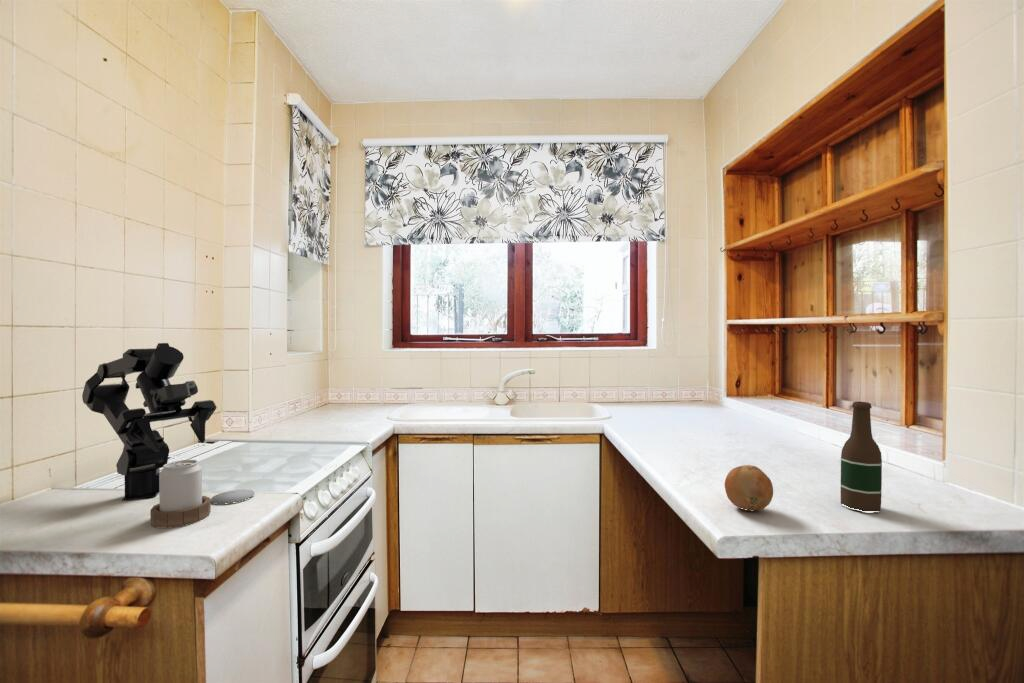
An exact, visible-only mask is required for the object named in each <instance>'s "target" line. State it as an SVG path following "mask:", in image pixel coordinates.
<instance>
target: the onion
mask: <svg viewBox="0 0 1024 683" xmlns="http://www.w3.org/2000/svg"><path fill="white" fill-rule="evenodd" d="M724 489H725V494H726V497H727V499H728V500H729V501H730V502H731V504H732V505H733V506H735V507H736V508H738V507H740V508H743V509H747V510H759V511H761V510H764V509H765V508H766V507H768V506H769V505H770V504H771V502H772V500H773V497H774V487H773V482H772V481H771V479H770V477H769V476H768V475H767V474H766V473H765V472H764V471H763V470H762V469H761V468H759V467H758V466H757V465H756V466H755V465H752V464H744V465H739V466H736V467H733V468H732V469H731V470H729V472H728V473H727V474H726V477H725V480H724ZM740 508H739V509H740Z"/></svg>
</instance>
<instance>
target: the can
mask: <svg viewBox="0 0 1024 683" xmlns="http://www.w3.org/2000/svg"><path fill="white" fill-rule="evenodd" d="M158 494H159V503H160V512H172V511H180V510H185V509H189V508H193V507H196V506H198V505H200V504H202V496H203V466H201V465H200V464H199V461H198V460H196V459H181V460H176V461H170V462H167V464H165V465H163V467H162V470H161V471H160V473H159V493H158Z"/></svg>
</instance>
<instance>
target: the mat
mask: <svg viewBox="0 0 1024 683" xmlns="http://www.w3.org/2000/svg"><path fill="white" fill-rule="evenodd" d="M253 495H254V496H255V491H254V490H252V489H233V490H228V491H224V492H220V493H217V494H215V495H213V496H212V497H211V498H210V503H211V502H212V503H211V504H213V503H217V504H225V503H233V502H239V501H242V500H245V499H248V498H250V497H252V496H253ZM254 496H253V497H254ZM253 497H252V498H253ZM248 500H249V499H248ZM239 503H240V502H239ZM217 504H216V505H217Z"/></svg>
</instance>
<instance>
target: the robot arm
mask: <svg viewBox="0 0 1024 683" xmlns="http://www.w3.org/2000/svg"><path fill="white" fill-rule="evenodd" d="M183 360H184V353H183V352H182V351H180V350H179V349H178V348H175V347H173V346H170V344H169V343H168V342H158V343H157V345H156V347H155V348H129V349H127V350H125V351H124V352H123V353H122V357H121V358H118V359H115V360H112V361H109V362H104V363H102V364H101V363H100V364H98V367H97V370H96V372H95V373H94V374H93V375H92V376H90V378H88V379H87V380H86V381H85V383H84V386H83V391H82V396H81V398H82V402H83V403H84V405H85V406H87V408H88V409H89V410H91V412H94V413H98V414H102V415H103V416H104V417H105V418H106V420H107V422H108V424H110V426H111V427H112V429H113V431H114V432H115V434H116V435H117V436H118V438H119V439H120V441H121V442H122V444H123V448H122V453H121V454H120V457H119V458H118V460H117V462H116V472H117V474H119V475H122V476H124V496H122V499H121V501H131V500H138V499H147V497H148V498H153V497H152V496H155V497H157V496H158V494H159V473H160V472H161V471H160V470H161V469H163V465H165V464H167V463H168V460H169V456H170V455H169V454H170V448H169V445H168V444H167V443H166V441H164V439H165V438H164V437H162V435H161V434H160V432H159V431H158V430H156V429H152V427H151V423H154V422H163V421H171V420H178V419H184V418H187V419H188V421H189V422H190V427H191V429H192V431H193V433H194V434H195V436H196V438H197V440H199V442H200V443H201V444H203V443H205V441H206V424H207V423H206V422H207V421H209V419H211V416H212V415H213V414H214V413H215V411H216V410H217V408H218V407H217V404H216V403H215V401H214V400H211V399H207V400H198V401H197V400H196V401H194V403H193V404H192V406H191V407H189V408H182V407H184V406H185V405H186V403H187V402H186V399H188V398H192V396H194V395H196V394H197V393H198V391H199V389H198V385H197V383H196V382H195V380H189V381H185V382H183V383H176V384H175V383H173V384H171V381H170V380H169V379H171V378H173V377H174V376H175V374H176V372H177V370H178V369H179V367H180V366H181V364H182V361H183ZM134 373H139V374H138V376H137V377H136V383H135V389H140V392H141V395H142V398H143V399H144V401H143V404H142V405H143V407H144V408H143V407H139V408H131V409H129V406H127V404H126V400H127V397H128V393H129V390H130V385H129V383H128V381H127V379H126V376H128V375H131V374H134ZM118 378H120V379H121V380H122V381H121V383H113V384H112V383H111V384H102V383H103V382H104V381H105V379H118ZM101 384H102V385H101ZM145 408H147V409H148V413H147V411H146V409H145Z"/></svg>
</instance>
